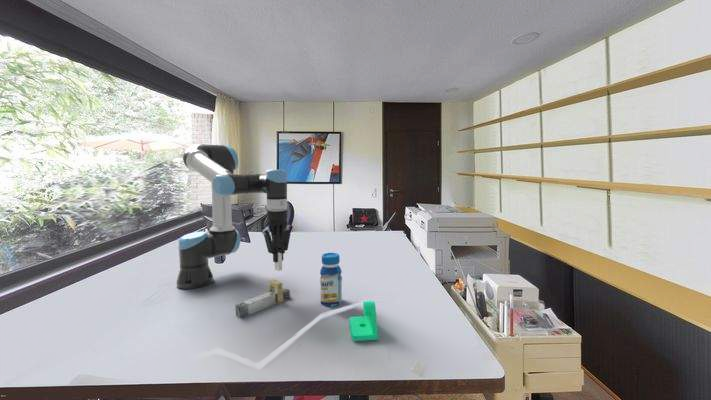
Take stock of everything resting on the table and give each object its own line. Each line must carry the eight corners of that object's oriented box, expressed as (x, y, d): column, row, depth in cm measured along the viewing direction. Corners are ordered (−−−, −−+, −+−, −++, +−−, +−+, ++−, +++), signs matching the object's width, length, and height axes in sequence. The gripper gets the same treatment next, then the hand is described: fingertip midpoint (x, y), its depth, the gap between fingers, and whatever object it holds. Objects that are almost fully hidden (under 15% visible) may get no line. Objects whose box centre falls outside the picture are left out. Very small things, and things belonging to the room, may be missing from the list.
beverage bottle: (346, 304, 114) (346, 254, 112) (330, 312, 108) (329, 259, 106) (332, 298, 120) (331, 250, 118) (315, 305, 114) (314, 255, 112)
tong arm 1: (278, 298, 117) (277, 288, 117) (280, 299, 116) (280, 289, 116) (235, 315, 103) (235, 304, 103) (238, 316, 102) (237, 305, 102)
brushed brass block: (269, 300, 116) (269, 280, 115) (274, 298, 117) (273, 279, 116) (278, 304, 112) (277, 284, 111) (282, 302, 113) (282, 282, 113)
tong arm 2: (280, 299, 116) (280, 290, 116) (283, 300, 115) (282, 290, 115) (238, 316, 102) (237, 305, 102) (240, 318, 101) (239, 306, 101)
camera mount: (349, 324, 100) (348, 295, 99) (371, 322, 101) (371, 293, 100) (352, 344, 88) (352, 311, 87) (377, 342, 89) (377, 310, 88)
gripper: (268, 212, 105) (269, 276, 108) (297, 209, 115) (297, 267, 118) (256, 210, 110) (258, 271, 112) (285, 207, 120) (286, 263, 122)
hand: (278, 269), depth 115 cm, fingers closed
